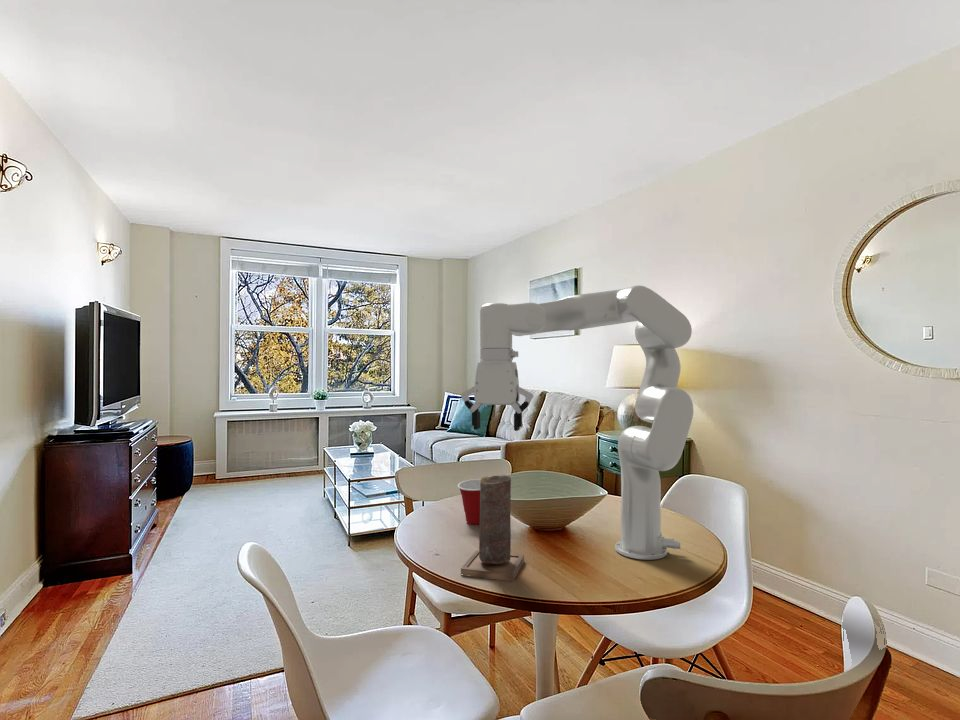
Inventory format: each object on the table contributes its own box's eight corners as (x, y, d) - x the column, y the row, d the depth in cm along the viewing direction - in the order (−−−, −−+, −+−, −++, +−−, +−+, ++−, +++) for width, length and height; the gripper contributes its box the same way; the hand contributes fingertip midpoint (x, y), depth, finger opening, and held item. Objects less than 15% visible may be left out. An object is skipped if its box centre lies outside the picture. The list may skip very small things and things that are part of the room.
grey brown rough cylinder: (512, 568, 121) (512, 480, 121) (480, 569, 120) (480, 480, 120) (508, 556, 128) (508, 473, 128) (478, 557, 128) (478, 473, 128)
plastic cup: (450, 522, 159) (450, 482, 159) (477, 515, 166) (477, 477, 167) (474, 531, 151) (474, 488, 151) (501, 523, 158) (501, 483, 158)
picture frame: (523, 561, 128) (523, 555, 128) (512, 581, 117) (512, 574, 117) (476, 556, 132) (476, 550, 132) (460, 575, 120) (460, 568, 120)
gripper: (535, 356, 126) (536, 428, 126) (465, 356, 131) (466, 426, 131) (529, 356, 119) (530, 432, 119) (456, 356, 124) (456, 430, 124)
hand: (496, 429), depth 125 cm, fingers open, 9 cm apart
